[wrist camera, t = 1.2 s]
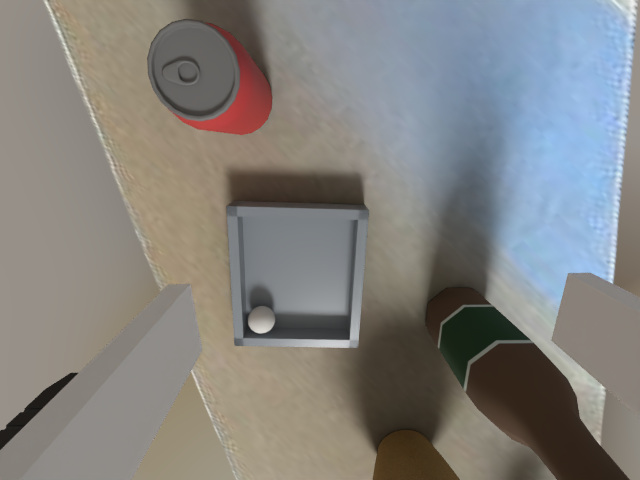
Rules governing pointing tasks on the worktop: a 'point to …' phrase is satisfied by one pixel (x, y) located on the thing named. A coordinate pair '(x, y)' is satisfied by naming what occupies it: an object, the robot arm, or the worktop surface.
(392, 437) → the plant pot
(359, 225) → the tray
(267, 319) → the ball
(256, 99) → the beer can
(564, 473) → the beer bottle
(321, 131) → the worktop surface
